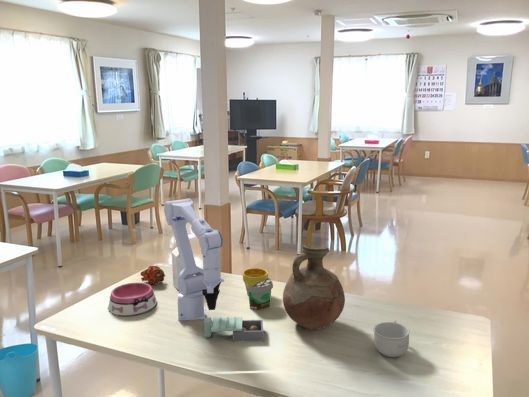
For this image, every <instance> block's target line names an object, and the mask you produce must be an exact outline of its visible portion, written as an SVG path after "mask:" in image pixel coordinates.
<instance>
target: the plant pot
mask: <svg viewBox="0 0 529 397" xmlns="http://www.w3.org/2000/svg"><path fill="white" fill-rule="evenodd" d="M266 277H268V278H269V272H268V271H267V270H266V269H265V268H259V267H250V268H247V269H245V270H243V272H242V281H243V283H244V285H245V291H246V294H247V296H248V297H249V292H247V290H248V286H250V287H252V286H254V285H255V284H256V283H258V282H262V281H264V280H266Z"/></svg>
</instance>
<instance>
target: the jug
mask: <svg viewBox="0 0 529 397" xmlns="http://www.w3.org/2000/svg"><path fill="white" fill-rule="evenodd" d="M301 251H302V253H299V254H297V255H296V257H295V258H294V260H293V263H292V268H291V269H292V274H291V275H290V276H289V278H288V280H287V281H286V284H285V286H284V287H283V288H284V289H283V292H282V305H283V307H284V310H285V312H286V314H287V316H288V317H289V318H290V319H291V320H292V322H294V323H296V324H298V325H300V327H301V328H303V329H305V330H311V331H319V330H320V329H324V328H326V327H329V326H330V325H332V324H333V323H334V322H335V321H337V319H338V318H339V317H340V316H341V314H342V312H344V311H343V310H344V308H345V301H346V297H345V292H344V288H343V285H342V282H341V281H340V280H339V277H338V276H337V275H336V273H334V272H332V271H330V270H328V269H327V268H325V267H324V263H323V259H324V258H325V257H326V256H327V254H328V253H329V252H330V249H329V247H328V246H327V247H325V248H316V247H310V246H309V245H304V244H302V245H301ZM306 260H307V262H306V263H307V264H306V266H305V267H301V264H302V263H303V262H304V261H306Z"/></svg>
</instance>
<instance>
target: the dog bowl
mask: <svg viewBox="0 0 529 397" xmlns="http://www.w3.org/2000/svg"><path fill="white" fill-rule="evenodd" d="M157 305H158V301H157V297H156V295H155V291H154V290H153V287H152V286H151V284H150V285H149V284H148V283H145V282H129V283H124V284H121V285H119V286H116V287H115V288H113V289H112V290H111V291H110V296H109V301H108V307H107V311H108V310H109V311H108V312H109V313H110V312H111V313H112V314H111V313H110V314H111V315H113V314H114V315H113V316H116V315H117V316H116V317H122V318H123V317H124V318H125V317H126V318H127V317H129V318H130V317H135V316H136V317H137V316H141V315H144V314H147V313H149V312H151V311H152V310H154V309H155V308H157Z"/></svg>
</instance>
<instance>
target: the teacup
mask: <svg viewBox="0 0 529 397" xmlns="http://www.w3.org/2000/svg"><path fill="white" fill-rule="evenodd" d="M410 333H411V332H410V328H408V327H407V326H406V325H404V324H402V323H399V322H398V323H397V320H395V319H391V321H384V322H380V323H378V324H376V325H375V326H374V327H373V338H374V346H375V348H376V350H377V351H378V352H379V353H381V354H382V355H383V356H386V357H389V358H399V357H401V356H402V355H405V353H406V352H408V349H409V344H410Z"/></svg>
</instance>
